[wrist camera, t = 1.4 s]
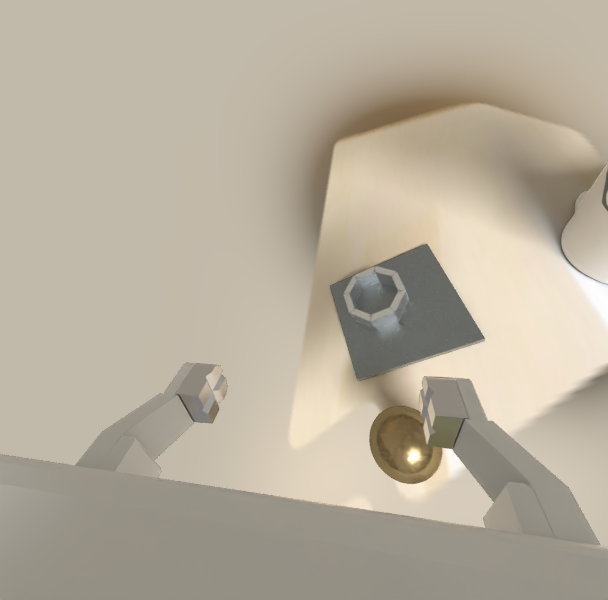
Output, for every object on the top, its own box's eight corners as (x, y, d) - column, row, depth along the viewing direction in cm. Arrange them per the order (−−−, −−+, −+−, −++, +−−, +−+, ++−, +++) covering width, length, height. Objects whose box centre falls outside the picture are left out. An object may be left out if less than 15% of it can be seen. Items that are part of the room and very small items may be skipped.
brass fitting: (432, 413, 36) (423, 398, 26) (456, 469, 32) (455, 475, 23) (385, 425, 38) (361, 415, 28) (402, 480, 34) (382, 490, 25)
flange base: (427, 247, 47) (425, 230, 43) (484, 341, 37) (487, 329, 33) (332, 288, 52) (322, 276, 48) (359, 380, 42) (349, 374, 38)
